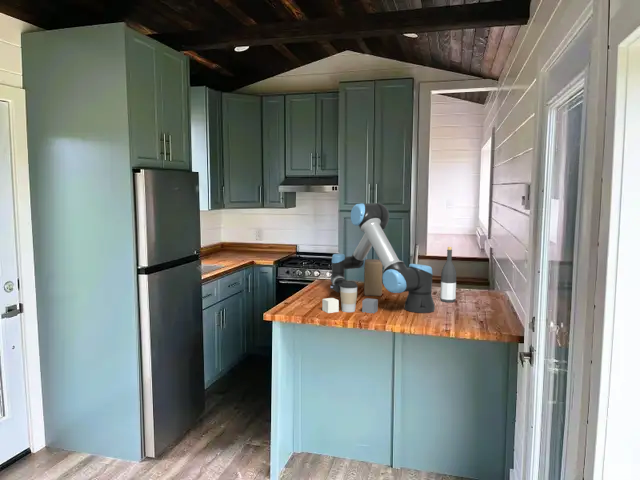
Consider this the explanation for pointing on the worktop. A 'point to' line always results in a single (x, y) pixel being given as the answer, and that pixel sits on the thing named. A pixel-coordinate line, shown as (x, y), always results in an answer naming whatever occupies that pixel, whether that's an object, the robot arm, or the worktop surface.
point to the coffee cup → (348, 295)
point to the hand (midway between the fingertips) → (346, 293)
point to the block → (373, 277)
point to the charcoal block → (370, 305)
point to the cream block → (330, 305)
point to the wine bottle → (448, 280)
